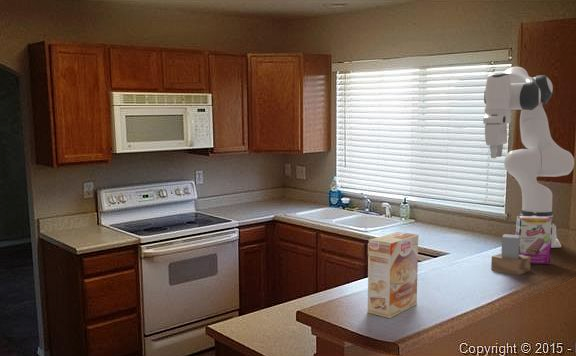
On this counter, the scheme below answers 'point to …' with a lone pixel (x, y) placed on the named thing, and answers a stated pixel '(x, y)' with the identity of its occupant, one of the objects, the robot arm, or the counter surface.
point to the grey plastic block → (510, 246)
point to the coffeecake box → (392, 274)
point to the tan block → (511, 264)
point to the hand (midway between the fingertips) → (496, 157)
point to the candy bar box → (535, 238)
